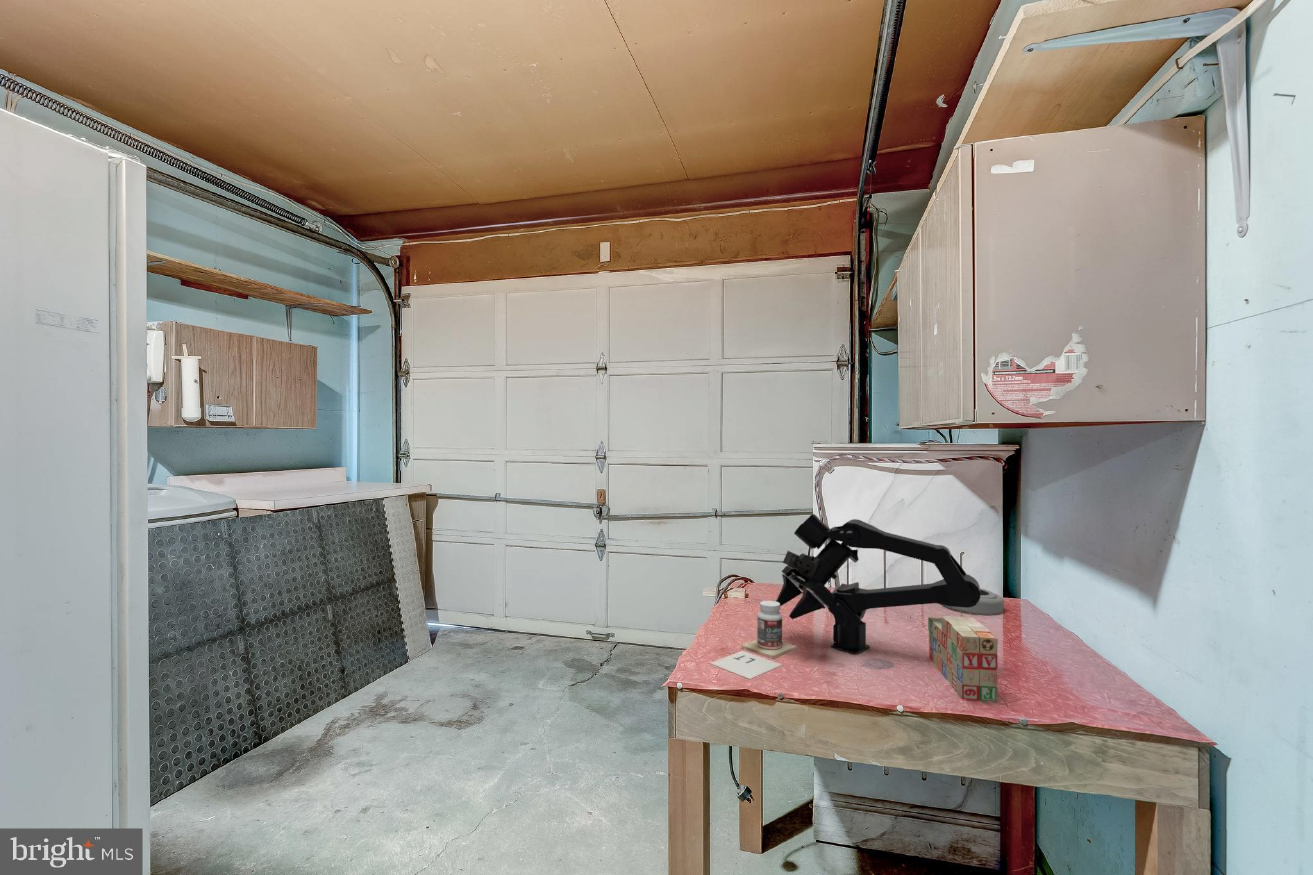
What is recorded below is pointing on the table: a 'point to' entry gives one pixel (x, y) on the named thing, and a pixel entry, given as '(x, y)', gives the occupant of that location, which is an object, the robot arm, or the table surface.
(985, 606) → the turbocharger housing
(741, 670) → the card
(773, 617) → the pill bottle
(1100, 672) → the table surface
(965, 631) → the stack of blocks
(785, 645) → the oak coaster
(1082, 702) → the table surface
